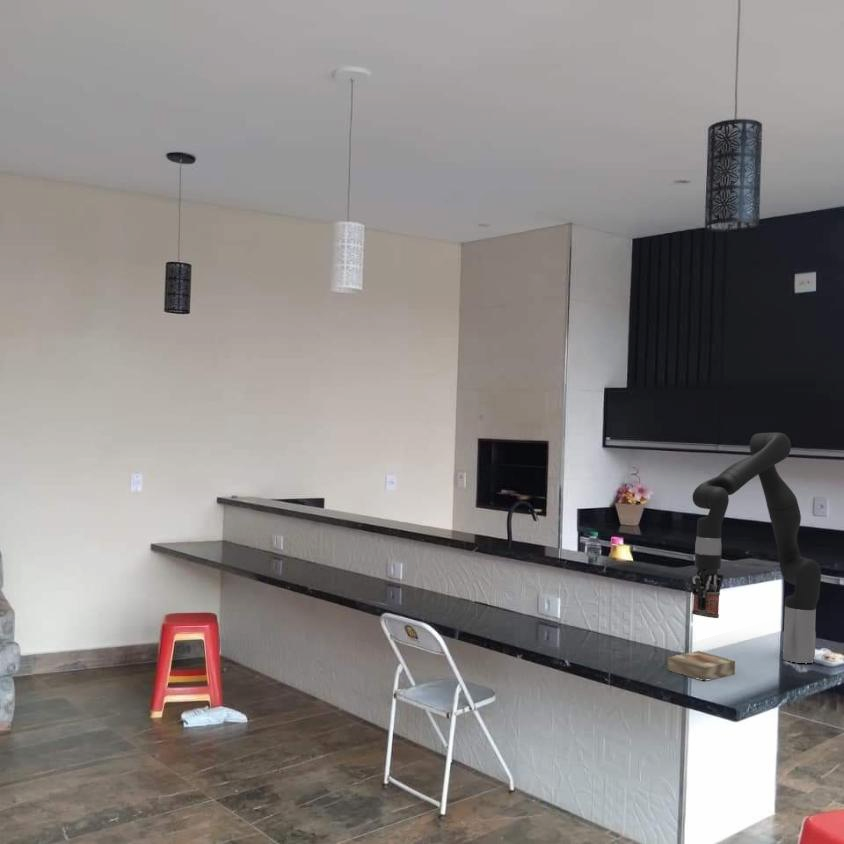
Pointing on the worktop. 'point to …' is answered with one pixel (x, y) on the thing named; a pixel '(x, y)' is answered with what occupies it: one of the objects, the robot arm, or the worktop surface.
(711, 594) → the lighter
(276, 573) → the worktop surface
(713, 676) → the dock
